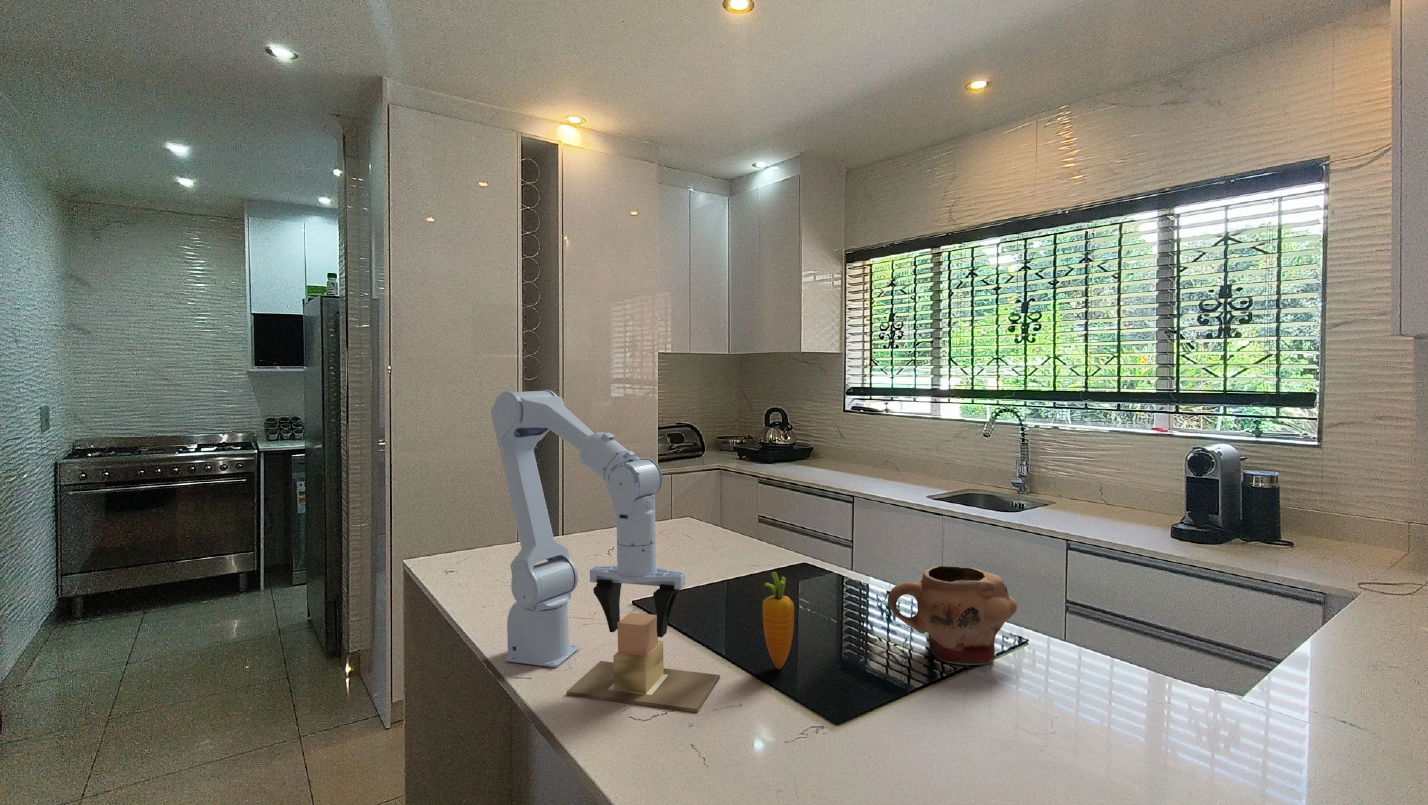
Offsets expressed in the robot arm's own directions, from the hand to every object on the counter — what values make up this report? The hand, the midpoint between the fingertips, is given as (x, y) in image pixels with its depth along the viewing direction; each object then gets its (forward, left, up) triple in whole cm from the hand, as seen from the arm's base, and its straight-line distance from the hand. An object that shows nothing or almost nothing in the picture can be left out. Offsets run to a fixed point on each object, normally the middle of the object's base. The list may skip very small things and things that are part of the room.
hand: (638, 632), depth 102 cm
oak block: (0, 0, -8) cm, 8 cm away
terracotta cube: (0, 0, -2) cm, 2 cm away
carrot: (+19, +11, -8) cm, 23 cm away
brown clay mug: (+45, +23, -8) cm, 51 cm away
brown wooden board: (+1, 0, -8) cm, 8 cm away
